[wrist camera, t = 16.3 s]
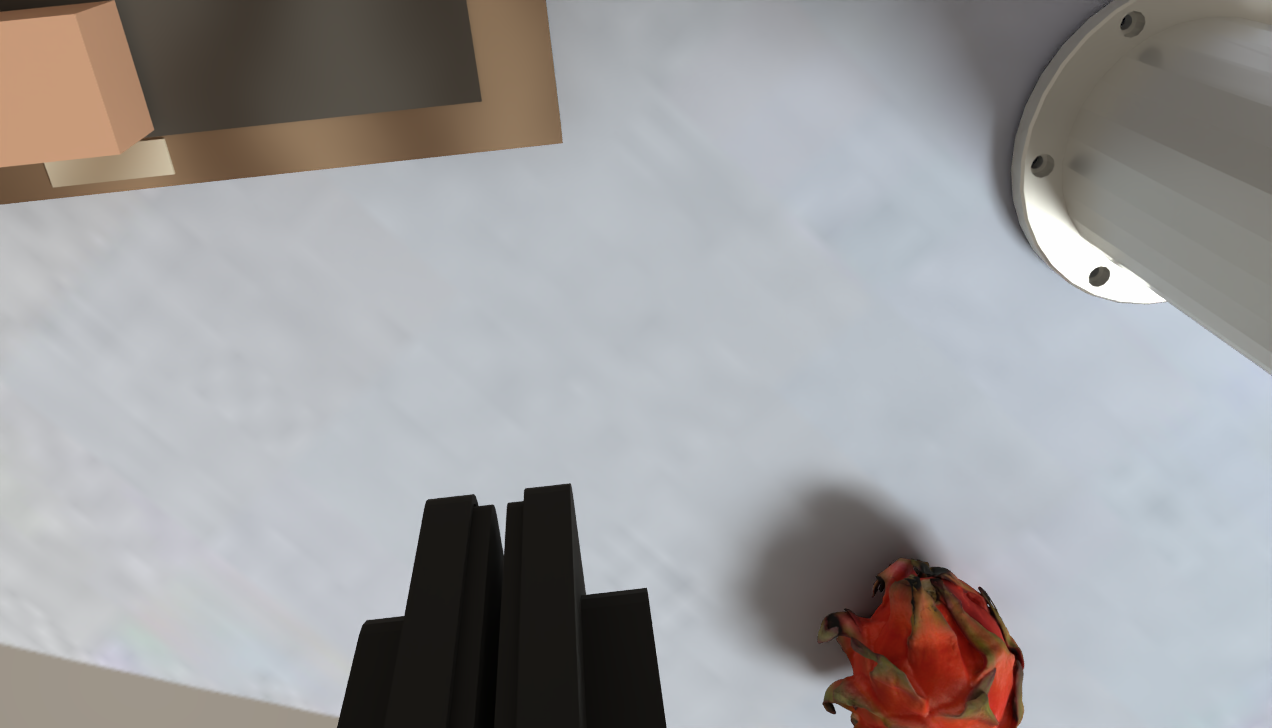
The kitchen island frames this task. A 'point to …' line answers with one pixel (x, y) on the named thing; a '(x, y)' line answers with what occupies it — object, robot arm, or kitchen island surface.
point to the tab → (67, 85)
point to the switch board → (314, 89)
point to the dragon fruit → (927, 656)
